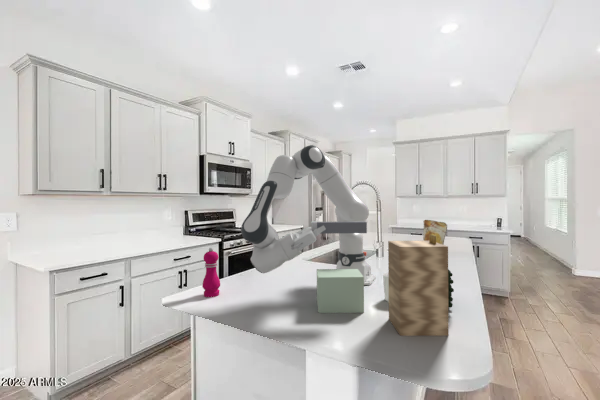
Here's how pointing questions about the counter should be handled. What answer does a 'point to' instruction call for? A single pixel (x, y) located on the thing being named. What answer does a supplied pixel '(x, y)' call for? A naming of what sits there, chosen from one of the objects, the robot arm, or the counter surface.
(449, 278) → the toy figurine
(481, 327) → the counter surface
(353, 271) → the green platform
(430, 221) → the pancake mix bag
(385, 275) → the white cup
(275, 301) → the counter surface
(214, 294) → the pepper mill
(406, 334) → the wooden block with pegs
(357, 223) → the bar
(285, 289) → the counter surface
